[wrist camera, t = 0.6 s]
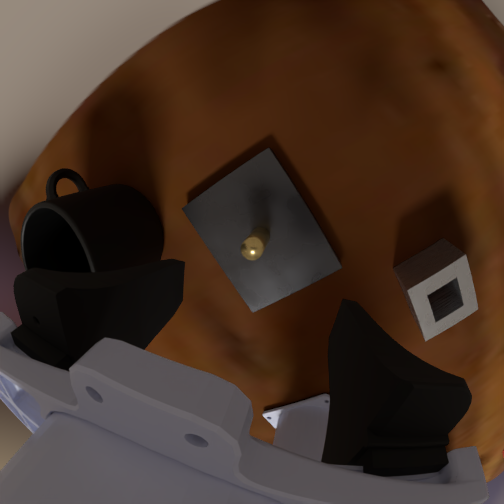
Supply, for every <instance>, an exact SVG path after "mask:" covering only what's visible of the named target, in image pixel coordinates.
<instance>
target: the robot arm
mask: <svg viewBox="0 0 504 504" xmlns="http://www.w3.org/2000/svg"><path fill="white" fill-rule="evenodd" d="M184 267H185V262H183V261H179V260H175V259H167V260H161V261H157V262H153V263H148V264H144V265H140V266H135V267H130V268H125V269H120V270H114V271H105V272H87V273H74V272H60V271H53V270H47V269H41V268H36V267H35V268H31V269H29V270H27V271H25V272H23V273H21V274H19V275H17V277H16V278H15V281H14V294H15V300H16V304H17V307H18V311H19V315H20V318H21V321H22V325H20V326H19V327H18V328H17V326H16V324H15V323H14V322H13V321H12V320H11V319H10V318H9V317H8V316H6V315H5V314H4V313H3V312H0V399H1V400H2V401H3V402H4V403H5V404H6V405H7V407H8V408H9V409H10V410H11V411H12V412H13V413H14V414H15V415H16V416H17V418H18V419H19V420H21V422H22V423H23V424H24V425H25V426H26V427H27V428H28V429H29V430H30V431H31V432H32V433H33V434H32V435H31V437H30V438H29V439H28V440H27V441H26V442H25V444H23V446H22V447H21V448H20V449H19V450H18V451H17V452H16V454H15V455H14V456H13V457H12V458H11V459H10V460H9V462H8V463H7V464H6V465H5V466H4V468H3V469H2V470H1V471H0V504H482V503H483V502H485V501H486V500H487V499H488V498H489V493H488V489H487V484H486V480H485V476H484V472H483V469H482V465H481V461H480V458H479V455H478V451H477V448H476V446H471V447H465V448H459V449H454V450H452V451H450V452H448V453H447V452H446V449H445V446H446V445H448V444H449V438H448V433H449V432H450V431H451V430H452V429H453V428H454V427H455V426H456V424H457V423H458V422H459V421H460V420H461V419H462V418H463V416H464V415H465V413H466V412H467V411H468V409H469V406H470V404H471V400H472V395H471V393H470V390H469V388H468V386H467V384H466V382H465V380H464V379H463V378H461V377H458V376H455V375H453V374H450V373H447V372H445V371H442V370H440V369H438V368H436V367H434V366H432V365H430V364H428V363H426V362H425V361H423V360H421V359H420V358H418V357H417V356H415V355H413V354H412V353H410V352H409V351H407V350H406V349H405V348H403V347H402V346H401V345H400V344H398V343H397V342H396V341H395V340H394V339H392V338H391V337H390V336H389V335H388V334H387V333H386V332H385V331H384V330H383V329H382V328H381V327H380V326H379V325H378V324H377V323H376V322H375V321H374V320H373V319H372V318H371V317H370V315H369V314H368V313H367V312H366V311H365V310H364V309H363V308H362V307H361V306H360V305H359V304H358V303H357V302H355V301H350V300H346V299H343V300H342V303H341V306H340V309H339V311H338V314H337V317H336V320H335V323H334V325H333V328H332V331H331V334H330V336H329V346H328V367H329V385H330V395H328V394H322V395H319V396H316V397H313V398H309V399H306V400H303V401H300V402H296V403H293V404H290V405H286V406H282V407H279V408H275V409H271V410H267V411H264V412H263V416H264V417H265V418H266V420H267V421H268V422H269V423H270V424H271V425H272V426H273V427H275V428H276V432H275V437H274V441H273V445H272V444H269V443H267V442H264V441H262V440H260V439H257V438H255V437H253V436H250V435H249V429H250V425H251V422H252V419H253V410H252V404H251V401H250V400H249V399H248V398H247V397H246V396H245V395H244V394H243V393H242V391H241V390H240V389H239V388H238V387H237V386H236V385H234V384H232V383H230V382H228V381H226V380H224V379H222V378H220V377H218V376H216V375H213V374H210V373H207V372H204V371H201V370H198V369H195V368H192V367H189V366H186V365H183V364H180V363H177V362H174V361H171V360H169V359H166V358H163V357H161V356H158V355H155V354H153V353H150V352H148V351H145V348H146V347H147V346H148V344H149V343H150V342H151V341H152V340H153V339H154V337H155V336H156V335H157V334H158V333H159V332H160V331H161V329H162V328H163V327H164V326H165V325H166V324H167V322H168V321H169V320H170V319H171V318H172V317H173V315H174V314H175V312H176V311H177V309H178V307H179V306H180V304H181V302H182V301H183V284H184ZM326 400H328V401H326Z"/></svg>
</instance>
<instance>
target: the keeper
mask: <svg viewBox="0 0 504 504" xmlns="http://www.w3.org/2000/svg"><path fill="white" fill-rule="evenodd" d="M182 210H183V211H184V213H185V214H186V216H187V217H188V219H189V220H190V222H191V223H192V225H193V226H194V228H195V229H196V231H197V232H198V234H199V235H200V237H201V238H202V240H203V241H204V243H205V244H206V246H207V247H208V249H209V250H210V252H211V253H212V255H213V256H214V258H215V259H216V260H217V262H218V263H219V265H220V266H221V268H222V269H223V271H224V272H225V274H226V275H227V276H228V278H229V279H230V281H231V282H232V284H233V285H234V287H235V288H236V289H237V291H238V292H239V294H240V295H241V297H242V298H243V299H244V301H245V302H246V304H247V305H248V306H249V308H250V309H251V311H252V312H255V311H257V310H259V309H261V308H263V307H266V306H268V305H270V304H272V303H274V302H276V301H278V300H280V299H282V298H284V297H286V296H288V295H290V294H292V293H294V292H296V291H298V290H300V289H302V288H304V287H306V286H308V285H310V284H312V283H314V282H316V281H318V280H320V279H322V278H324V277H326V276H328V275H329V274H331V273H333V272H335V271H337V270H339V269H341V268H342V265H341V262H340V260H339V258H338V257H337V255H336V253H335V251H334V249H333V248H332V246H331V244H330V242H329V241H328V239H327V237H326V235H325V234H324V232H323V230H322V229H321V227H320V225H319V224H318V222H317V220H316V218H315V217H314V215H313V213H312V212H311V210H310V209H309V207H308V205H307V204H306V202H305V200H304V199H303V197H302V196H301V194H300V192H299V191H298V189H297V188H296V186H295V184H294V183H293V181H292V180H291V178H290V177H289V175H288V173H287V172H286V170H285V169H284V167H283V166H282V164H281V163H280V161H279V160H278V158H277V157H276V155H275V154H274V152H273V151H272V149H271V148H267V149H266V150H264V151H263V152H261V153H260V154H258V155H256V156H255V157H253V158H252V159H250V160H249V161H247V162H246V163H245V164H243V165H242V166H240V167H239V168H237V169H236V170H234V171H233V172H231V173H230V174H228V175H227V176H226V177H224V178H223V179H221V180H220V181H219V182H217V183H216V184H214V185H213V186H212V187H210V188H209V189H207V190H206V191H205V192H203V193H202V194H201V195H199V196H198V197H196V198H195V199H194V200H192V201H191V202H190V203H188V204H187V205H186V206H184V207H183V208H182Z"/></svg>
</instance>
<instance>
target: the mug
mask: <svg viewBox="0 0 504 504" xmlns="http://www.w3.org/2000/svg"><path fill="white" fill-rule="evenodd" d="M62 178H67V179H70V180H71V181H73V182H74V183H75V185H76V186H77V188H78V190H79V192H77V193H73V194H69V195H65V196H61V197H58V194H57V192H56V185H57V182H58V181H59V180H60V179H62ZM46 195H47V199H46V201H42V202H40V203H37V204H36V205H34V206H33V207H32V208H31V209H30V210H29V211H28V213H27V214H26V216H25V219H24V222H23V225H22V231H21V251H22V258H23V263H24V267H25V270H26V271H27V270H29V269H31V268H35V267H36V268H41V269H47V270H53V271H60V272H74V273H87V272H105V271H114V270H120V269H125V268H130V267H135V266H140V265H144V264H148V263H153V262H157V261H160V259H161V255H162V251H163V232H162V228H161V224H160V221H159V218H158V215H157V213H156V211H155V210H154V208H153V206H152V205H151V203H150V202H149V201H148V200H147V199H146V198H145V197H144V196H143V195H142V194H141V193H140V192H138V191H137V190H135V189H133V188H131V187H129V186H126V185H121V184H115V185H109V186H104V187H99V188H94V189H90V190H89V187H87V185H86V183H85V181H84V180H83V178H82V177H81V176H80V175H79V174H78V173H77V172H75V171H73V170H71V169H65V168H63V169H60V170H57V171H55V172H54V173H53V174H52V175H51V176H50V177H49V179H48V181H47V185H46Z"/></svg>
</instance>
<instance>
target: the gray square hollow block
mask: <svg viewBox="0 0 504 504" xmlns="http://www.w3.org/2000/svg"><path fill="white" fill-rule="evenodd" d="M393 270H394V272H395V274H396V276H397V279H398V281H399V283H400V286H401V288H402V291H403V293H404V296H405V298H406V301H407V303H408V306H409V308H410V311H411V314H412V316H413V318H414V320H415V322H416V323H417V325H418V327H419V329H420V331H421V333H422V335H423V337H424V339H425V341H427V340H429V339H431V338H432V337H434V336H436V335H438V334H439V333H441V332H443V331H445V330H446V329H448V328H450V327H451V326H453V325H455V324H456V323H458V322H459V321H461V320H462V319H464V318H466V317H467V316H469V315H470V314H472V313H473V312H475V311H476V310H478V305H477V300H476V295H475V290H474V285H473V281H472V276H471V272H470V268H469V264H468V261H467V257H466V254H465V253H463V252H462V251H461V250H459V249H458V248H457V247H455V246H454V245H452V244H451V243H450V242H448V241H447V240H445V239H444V238H442V239H441V240H439V241H437V242H436V243H434V244H433V245H431V246H429V247H428V248H426V249H424V250H423V251H421V252H419V253H418V254H416V255H414V256H413V257H411V258H409V259H408V260H406V261H404V262H402V263H401V264H399V265H397V266H395V267H394V268H393Z"/></svg>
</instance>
